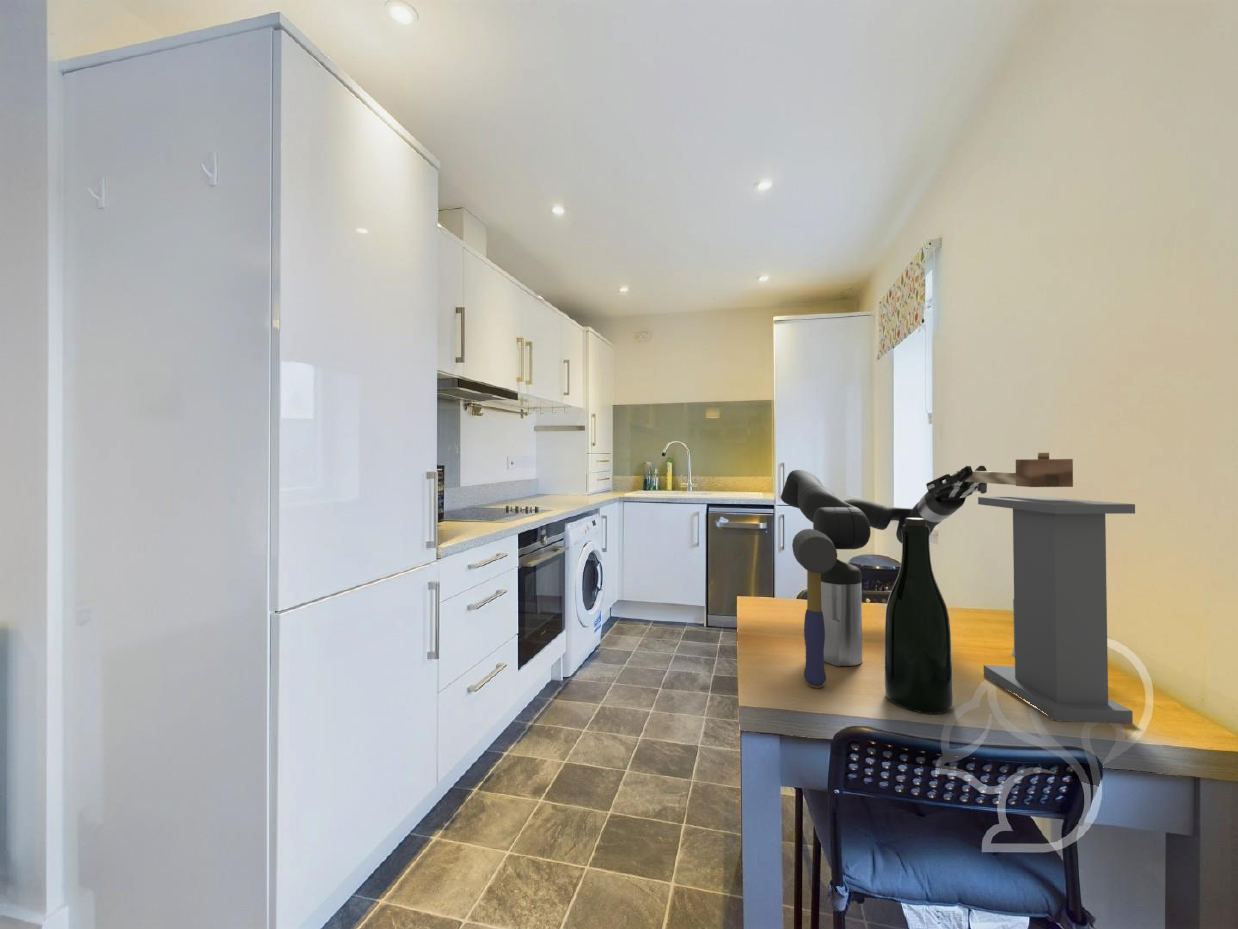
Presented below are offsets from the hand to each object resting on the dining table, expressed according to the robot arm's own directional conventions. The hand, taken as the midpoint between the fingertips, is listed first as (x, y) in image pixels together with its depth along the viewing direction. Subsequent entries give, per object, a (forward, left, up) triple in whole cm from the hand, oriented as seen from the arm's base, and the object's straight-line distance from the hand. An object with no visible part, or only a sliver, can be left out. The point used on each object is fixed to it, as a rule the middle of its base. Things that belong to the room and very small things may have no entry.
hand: (976, 469), depth 111 cm
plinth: (-12, -17, -41) cm, 46 cm away
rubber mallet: (-44, +9, -42) cm, 61 cm away
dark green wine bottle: (-34, -5, -42) cm, 54 cm away
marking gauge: (-5, -6, -3) cm, 8 cm away
